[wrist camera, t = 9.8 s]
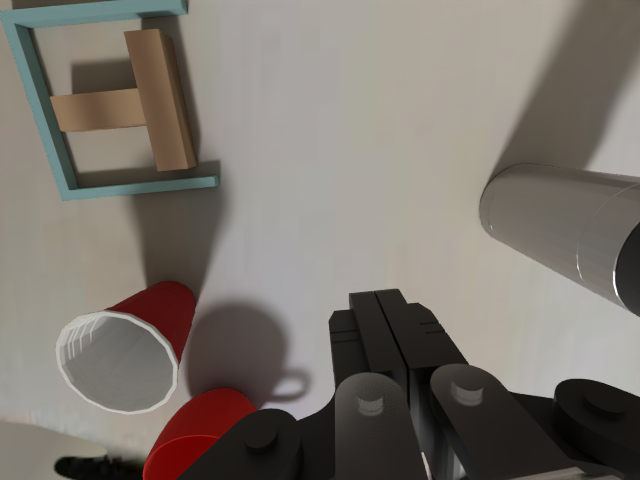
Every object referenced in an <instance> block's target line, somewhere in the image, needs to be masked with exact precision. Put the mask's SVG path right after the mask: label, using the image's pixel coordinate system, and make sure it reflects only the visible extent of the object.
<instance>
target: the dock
mask: <svg viewBox="0 0 640 480" xmlns="http://www.w3.org/2000/svg"><path fill="white" fill-rule="evenodd" d="M182 14H188V12H187V6H186V1H185V0H115V1H104V2H93V3H82V4H71V5H60V6H48V7H37V8H26V9H15V10H4V11H0V18H1V21H2V24H3V27H4V30H5V33H6V36H7V39H8V42H9V44H10V47H11V50H12V53H13V56H14V59H15V62H16V65H17V68H18V71H19V74H20V77H21V80H22V83H23V86H24V89H25V92H26V95H27V98H28V101H29V104H30V106H31V109H32V112H33V115H34V118H35V121H36V124H37V127H38V130H39V133H40V136H41V139H42V142H43V145H44V148H45V151H46V154H47V157H48V160H49V163H50V165H51V168H52V171H53V174H54V177H55V180H56V183H57V186H58V189H59V192H60V195H61V198H62V201H67V200H78V199H88V198H99V197H109V196H120V195H130V194H141V193H151V192H162V191H172V190H183V189H193V188H204V187H214V186H217V185H219V180H218V175H213V176H203V177H192V178H182V179H171V180H161V181H150V182H140V183H129V184H119V185H108V186H98V187H87V188H79V187H78V184H77V181H76V178H75V175H74V172H73V169H72V166H71V162H70V159H69V156H68V153H67V150H66V147H65V144H64V140H63V137H62V134H61V131H60V128H59V125H58V122H57V119H56V115H55V112H54V109H53V106H52V103H51V100H50V97H49V93H48V90H47V87H46V84H45V81H44V78H43V75H42V72H41V68H40V65H39V62H38V59H37V56H36V53H35V50H34V47H33V43H32V40H31V37H30V34H29V31H28V28H39V27H50V26H61V25H72V24H83V23H94V22H105V21H116V20H127V19H138V18H149V17H160V16H171V15H182Z"/></svg>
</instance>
